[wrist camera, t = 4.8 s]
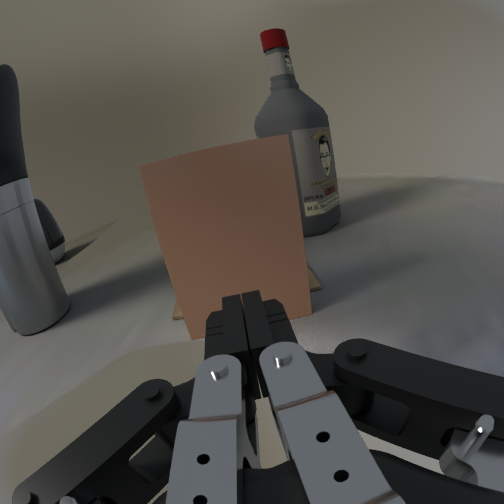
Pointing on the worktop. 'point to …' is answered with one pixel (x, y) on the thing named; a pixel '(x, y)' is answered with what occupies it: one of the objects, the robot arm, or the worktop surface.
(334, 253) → the worktop surface
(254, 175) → the tile
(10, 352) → the worktop surface
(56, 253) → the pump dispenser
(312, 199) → the liquor
